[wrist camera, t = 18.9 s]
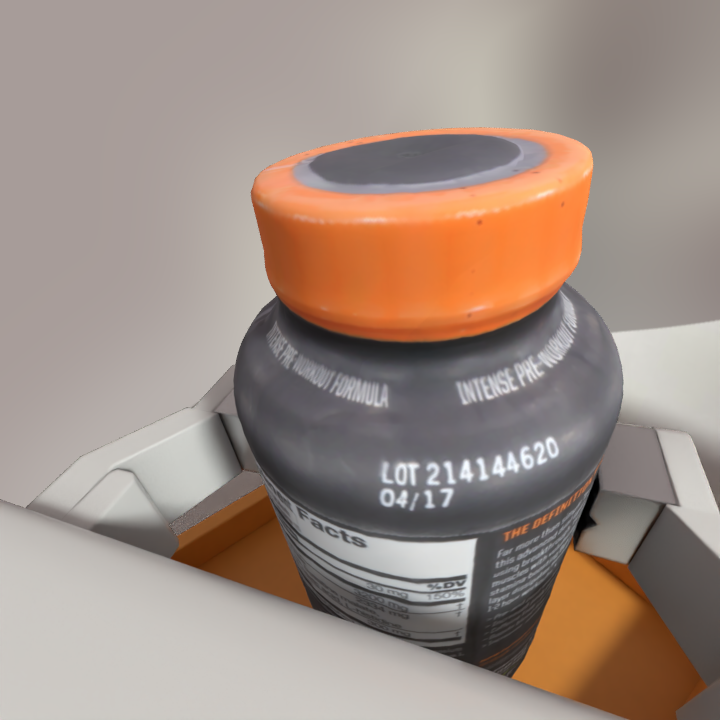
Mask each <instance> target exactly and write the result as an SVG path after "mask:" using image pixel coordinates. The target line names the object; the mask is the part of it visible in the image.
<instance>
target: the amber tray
mask: <svg viewBox="0 0 720 720" xmlns="http://www.w3.org/2000/svg"><path fill="white" fill-rule="evenodd" d="M177 538H178V539H179V547H178V548H177V550H176V551H175V553H174V554H173V556H172V557H171V559H172V560H175V561H178V562H181V563H183V564H186V565H189V566H192V567H195V568H198V569H201V570H203V571H206V572H209V573H212V574H215V575H218V576H221V577H224V578H226V579H229V580H232V581H235V582H238V583H241V584H244V585H246V586H249V587H252V588H255V589H258V590H261V591H263V592H266V593H269V594H272V595H275V596H278V597H281V598H283V599H286V600H289V601H292V602H295V603H298V604H301V605H303V606H306V607H309V608H312V605H311V603H310V600H309V598H308V596H307V592H306V589H305V587H304V585H303V583H302V580H301V578H300V575H299V572H298V569H297V567H296V564H295V562H294V559H293V557H292V554H291V552H290V549H289V546H288V543H287V541H286V539H285V536H284V534H283V531H282V529H281V526H280V523H279V521H278V518H277V516H276V513H275V511H274V508H273V506H272V503H271V501H270V498H269V496H268V493H267V490H266V488H265V485H262V486H260V487H259V488H257V489H255V490H254V491H252V492H250V493H249V494H247V495H245V496H244V497H242V498H240V499H238V500H237V501H235V502H233V503H232V504H230V505H228V506H227V507H225V508H223V509H222V510H220V511H218V512H217V513H215V514H213V515H212V516H210V517H208V518H207V519H205V520H203V521H201V522H200V523H198V524H196V525H195V526H193V527H191V528H190V529H188V530H186V531H185V532H183V533H181V534H180V535H178V536H177ZM628 566H629V565H625V564H622V563H618V562H614V561H611V560H607V559H603V558H600V557H596V556H592V555H588V554H585V553H581V552H577V551H574V544H573V536H572V539H571V543H570V545H569V548H568V550H567V552H566V555H565V557H564V560H563V562H562V564H561V567H560V571H559V573H558V575H557V577H556V580H555V583H554V586H553V588H552V591H551V595H550V598H549V599H548V602H547V604H546V606H545V608H544V611H543V614H542V617H541V619H540V622H539V625H538V627H537V630H536V633H535V637H534V639H533V641H532V643H531V645H530V647H529V649H528V652H527V654H526V656H525V659H524V660H523V662H522V663H521V665H520V666H519V667H518V669H517V670H516V672H515V673H514V675H513V676H512V677H511V678H512V679H515V680H518V681H520V682H523V683H526V684H529V685H532V686H535V687H537V688H540V689H543V690H546V691H549V692H552V693H555V694H557V695H560V696H563V697H566V698H569V699H572V700H575V701H577V702H580V703H583V704H586V705H589V706H592V707H595V708H597V709H600V710H603V711H606V712H609V713H612V714H615V715H617V716H620V717H623V718H626V719H629V720H677V717H676V711H677V710H678V709H679V708H681V707H682V706H683V705H684V704H686V703H687V702H688V701H690V700H691V699H692V698H694V697H695V696H696V695H698V694H699V693H700V692H702V691H703V690H704V689H706V688H707V686H706V684H705V683H704V681H703V680H702V678H701V677H700V675H699V674H698V672H697V671H696V669H695V668H694V666H693V665H692V663H691V662H690V660H689V659H688V657H687V656H686V654H685V653H684V651H683V650H682V648H681V647H680V645H679V644H678V642H677V641H676V639H675V638H674V636H673V635H672V633H671V632H670V630H669V629H668V627H667V626H666V624H665V623H664V621H663V620H662V618H661V617H660V615H659V614H658V612H657V611H656V609H655V608H654V606H653V605H652V603H651V602H650V601H649V599H648V598H647V596H646V595H645V593H644V592H643V590H642V589H641V587H640V586H639V584H638V583H637V581H636V580H635V578H634V577H633V575H632V574H631V572H630V571H629V569H628V568H627V567H628ZM312 609H313V608H312Z"/></svg>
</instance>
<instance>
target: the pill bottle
mask: <svg viewBox="0 0 720 720" xmlns="http://www.w3.org/2000/svg"><path fill="white" fill-rule="evenodd" d="M592 170H593V159H592V155H591V152H590V150H589V149H588V148H587V147H586V146H584V145H583V144H582V143H580V142H578V141H576V140H573V139H571V138H568V137H565V136H562V135H559V134H554V133H548V132H543V131H538V130H530V129H509V128H485V127H484V128H482V127H479V128H446V129H432V130H420V131H409V132H401V133H392V134H384V135H378V136H371V137H364V138H359V139H354V140H349V141H345V142H340V143H336V144H332V145H327V146H322V147H319V148H316V149H313V150H310V151H306V152H302V153H299V154H296V155H293V156H290V157H288V158H286V159H283V160H281V161H279V162H277V163H275V164H273V165H270V166H269V167H267V168H266V169H264V170H263V171H262V172H261V173H260V174H259V175H258V176H257V177H256V178H255V181H254V184H253V188H252V190H251V198H252V203H253V207H254V211H255V215H256V219H257V223H258V228H259V231H260V236H261V240H262V244H263V248H264V258H265V268H266V272H267V276H268V279H269V281H270V284H271V286H272V288H273V289H274V291H275V293H276V295H277V296H276V297H275V298H274V299H273V300H272V301H270V302H269V303H268V304H267V305H266V306H264V307H263V308H262V310H261V311H260V312H259V314H258V315H257V316H256V318H255V319H254V321H253V322H252V324H251V326H250V328H249V329H248V331H247V333H246V335H245V337H244V339H243V341H242V343H241V346H240V349H239V352H238V355H237V360H236V365H235V371H234V379H233V382H234V398H235V405H236V410H237V414H238V418H239V420H240V422H241V425H242V429H243V433H244V435H245V437H246V440H247V442H248V444H249V446H250V449H251V451H252V454H253V456H254V459H255V462H256V464H257V467H258V470H259V472H260V475H261V477H262V480H263V482H264V485H265V488H266V490H267V493H268V496H269V498H270V501H271V503H272V506H273V508H274V511H275V513H276V516H277V518H278V521H279V523H280V526H281V529H282V531H283V534H284V536H285V539H286V541H287V543H288V546H289V549H290V552H291V554H292V557H293V559H294V562H295V564H296V567H297V569H298V572H299V575H300V578H301V580H302V583H303V585H304V587H305V589H306V592H307V596H308V598H309V600H310V603H311V605H312V608H313V609H315V610H318V611H321V612H323V613H326V614H329V615H332V616H335V617H338V618H341V619H343V620H346V621H349V622H352V623H355V624H358V625H361V626H363V627H366V628H369V629H372V630H375V631H378V632H381V633H383V634H386V635H389V636H392V637H395V638H398V639H400V640H403V641H406V642H409V643H412V644H415V645H418V646H420V647H423V648H426V649H429V650H432V651H435V652H438V653H440V654H443V655H446V656H449V657H452V658H455V659H458V660H460V661H463V662H466V663H469V664H472V665H475V666H478V667H480V668H483V669H486V670H489V671H492V672H495V673H498V674H500V675H503V676H506V677H509V678H511V677H512V676H513V675H514V673H515V672H516V670H517V669H518V667H519V666H520V665H521V663H522V662H523V660H524V659H525V656H526V654H527V652H528V649H529V647H530V645H531V643H532V641H533V639H534V637H535V633H536V630H537V627H538V625H539V622H540V619H541V617H542V614H543V611H544V608H545V606H546V604H547V602H548V599H549V598H550V595H551V591H552V588H553V586H554V583H555V580H556V577H557V575H558V573H559V571H560V567H561V564H562V562H563V560H564V557H565V555H566V552H567V550H568V548H569V545H570V543H571V539H572V536H573V534H574V531H575V529H576V526H577V523H578V521H579V518H580V516H581V513H582V510H583V508H584V505H585V503H586V500H587V498H588V495H589V493H590V490H591V488H592V485H593V482H594V479H595V477H596V475H597V473H598V470H599V468H600V465H601V462H602V459H603V456H604V453H605V451H606V449H607V446H608V444H609V441H610V439H611V436H612V434H613V431H614V429H615V426H616V424H617V420H618V416H619V413H620V409H621V403H622V398H623V373H622V365H621V361H620V357H619V353H618V349H617V346H616V344H615V342H614V339H613V337H612V334H611V333H610V331H609V329H608V327H607V326H606V324H605V322H604V321H603V319H602V317H601V316H600V315H599V314H598V312H597V311H596V310H595V309H594V308H593V307H592V306H591V305H590V304H589V303H588V302H587V300H586V299H585V298H584V297H583V296H582V295H580V294H579V293H578V292H577V291H576V290H575V289H574V288H572V287H571V286H569V285H568V284H567V283H565V281H566V279H567V278H568V277H569V276H570V275H571V273H572V272H573V271H574V269H575V268H576V266H577V264H578V261H579V258H580V255H581V250H582V225H583V220H584V216H585V211H586V207H587V202H588V198H589V190H590V184H591V177H592Z"/></svg>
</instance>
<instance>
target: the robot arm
mask: <svg viewBox="0 0 720 720" xmlns="http://www.w3.org/2000/svg"><path fill="white" fill-rule="evenodd" d="M235 365H236V364H235ZM235 365H232V366H231V367H230V368H229V369H228V371H227V372H226V373H225V374H224V375H223V376H222V377H221V378H220V379H219V380H218V381H217V383H216V384H215V385H214V386H213V387H212V388H211V389H210V390H209V391H208V392H207V393H206V394H205V395H204V397H203V398H202V399H201V400H200V401H199V402H198V403H197V404H196V405H195V406H194V407H193V408H189V407H187V408H184V409H182V410H180V411H178V412H176V413H173V414H171V415H170V416H167V417H165V418H163V419H161V420H158V421H156V422H154V423H152V424H150V425H147V426H145V427H143V428H141V429H139V430H137V431H134V432H133V433H130V434H128V435H126V436H124V437H121V438H119V439H117V440H115V441H113V442H111V443H108V444H106V445H104V446H102V447H100V448H98V449H95V450H93V451H91V452H89V453H87V454H85V455H82V456H81V457H80V458H78V459H77V460H76V461H75V462H74V463H73V464H72V465H71V466H70V467H69V468H68V469H66V470H65V471H64V472H63V473H62V474H61V475H60V476H59V477H58V478H57V479H56V480H55V481H54V482H53V483H51V484H50V485H49V486H48V487H47V488H46V489H45V490H44V491H43V492H42V493H41V494H40V495H39V496H37V497H36V498H35V499H34V500H33V501H32V502H31V503H30V504H29V505H28V506H27V507H26V508H23V507H21V506H17V505H15V504H12V503H9V502H6V501H3V500H1V499H0V720H629V719H626V718H623V717H620V716H617V715H615V714H612V713H609V712H606V711H603V710H600V709H597V708H595V707H592V706H589V705H586V704H583V703H580V702H577V701H575V700H572V699H569V698H566V697H563V696H560V695H557V694H555V693H552V692H549V691H546V690H543V689H540V688H537V687H535V686H532V685H529V684H526V683H523V682H520V681H518V680H515V679H512V678H509V677H506V676H503V675H500V674H498V673H495V672H492V671H489V670H486V669H483V668H480V667H478V666H475V665H472V664H469V663H466V662H463V661H460V660H458V659H455V658H452V657H449V656H446V655H443V654H440V653H438V652H435V651H432V650H429V649H426V648H423V647H420V646H418V645H415V644H412V643H409V642H406V641H403V640H400V639H398V638H395V637H392V636H389V635H386V634H383V633H381V632H378V631H375V630H372V629H369V628H366V627H363V626H361V625H358V624H355V623H352V622H349V621H346V620H343V619H341V618H338V617H335V616H332V615H329V614H326V613H323V612H321V611H318V610H315V609H312V608H309V607H306V606H303V605H301V604H298V603H295V602H292V601H289V600H286V599H283V598H281V597H278V596H275V595H272V594H269V593H266V592H263V591H261V590H258V589H255V588H252V587H249V586H246V585H244V584H241V583H238V582H235V581H232V580H229V579H226V578H224V577H221V576H218V575H215V574H212V573H209V572H206V571H203V570H201V569H198V568H195V567H192V566H189V565H186V564H183V563H181V562H178V561H175V560H172V559H171V557H172V556H173V554H174V553H175V551H176V550H177V548H178V547H179V539H178V538H177V536H176V535H175V533H174V532H173V530H172V529H171V527H170V526H169V524H170V523H172V522H173V521H174V520H176V519H177V518H179V517H180V516H181V515H183V514H184V513H186V512H187V511H188V510H190V509H191V508H193V507H194V506H195V505H197V504H198V503H200V502H201V501H202V500H204V499H205V498H206V497H208V496H209V495H211V494H212V493H213V492H215V491H216V490H218V489H219V488H220V487H222V486H223V485H225V484H226V483H227V482H229V481H230V480H232V479H233V478H234V477H236V476H237V475H238V474H240V473H241V472H242V470H246V471H251V472H256V473H260V472H259V470H258V467H257V464H256V462H255V459H254V456H253V454H252V451H251V449H250V446H249V444H248V442H247V440H246V437H245V435H244V433H243V429H242V425H241V422H240V420H239V418H238V414H237V410H236V405H235V398H234V382H233V379H234V371H235ZM573 544H574V551H577V552H581V553H585V554H588V555H592V556H596V557H600V558H603V559H607V560H611V561H614V562H618V563H622V564H625V565H629V566H628V567H627V568H628V569H629V571H630V572H631V574H632V575H633V577H634V578H635V580H636V581H637V583H638V584H639V586H640V587H641V589H642V590H643V592H644V593H645V595H646V596H647V598H648V599H649V601H650V602H651V603H652V605H653V606H654V608H655V609H656V611H657V612H658V614H659V615H660V617H661V618H662V620H663V621H664V623H665V624H666V626H667V627H668V629H669V630H670V632H671V633H672V635H673V636H674V638H675V639H676V641H677V642H678V644H679V645H680V647H681V648H682V650H683V651H684V653H685V654H686V656H687V657H688V659H689V660H690V662H691V663H692V665H693V666H694V668H695V669H696V671H697V672H698V674H699V675H700V677H701V678H702V680H703V681H704V683H705V684H706V686H707V688H706V689H704V690H703V691H702V692H700V693H699V694H698V695H696V696H695V697H694V698H692V699H691V700H690V701H688V702H687V703H686V704H684V705H683V706H682V707H681V708H679V709H678V710H677V711H676V717H677V720H720V512H719V509H718V506H717V504H716V501H715V498H714V496H713V493H712V491H711V488H710V485H709V483H708V480H707V477H706V475H705V472H704V469H703V467H702V464H701V461H700V459H699V456H698V453H697V451H696V448H695V445H694V443H693V440H692V437H691V436H690V435H689V434H688V433H687V432H683V431H676V430H669V429H661V428H654V427H652V428H650V427H645V426H638V425H632V424H625V423H618V422H617V424H616V426H615V429H614V431H613V434H612V436H611V439H610V441H609V444H608V446H607V449H606V451H605V453H604V456H603V459H602V462H601V465H600V468H599V470H598V473H597V475H596V477H595V479H594V482H593V485H592V488H591V490H590V493H589V495H588V498H587V500H586V503H585V505H584V508H583V510H582V513H581V516H580V518H579V521H578V523H577V526H576V529H575V531H574V534H573Z"/></svg>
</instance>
